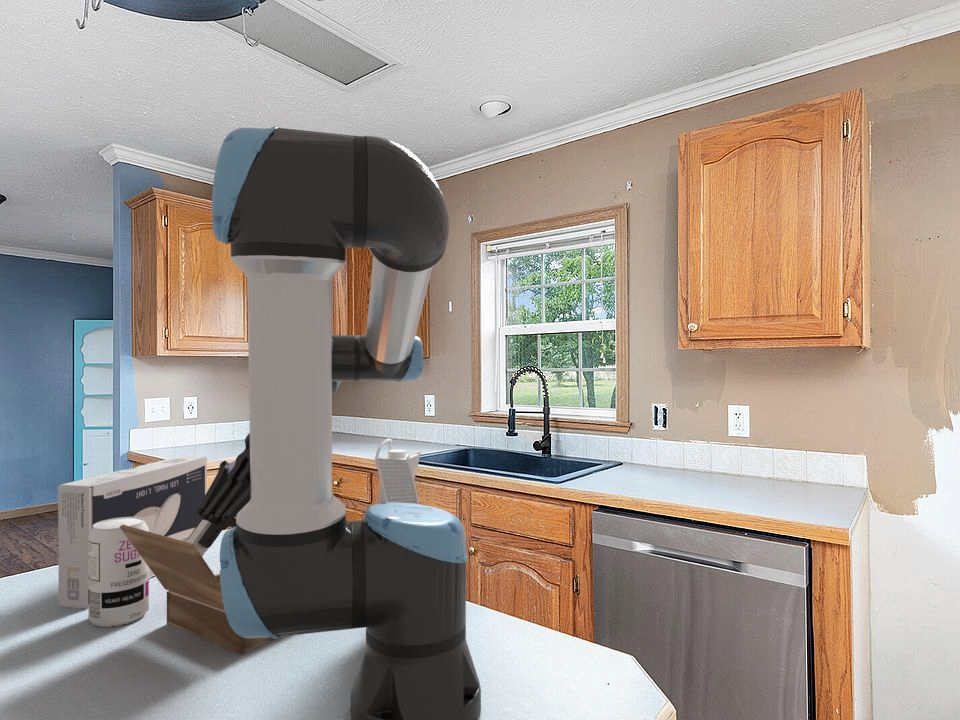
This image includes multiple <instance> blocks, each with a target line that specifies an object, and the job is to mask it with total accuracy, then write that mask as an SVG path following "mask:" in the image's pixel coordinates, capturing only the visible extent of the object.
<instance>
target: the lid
mask: <svg viewBox="0 0 960 720" xmlns="http://www.w3.org/2000/svg"><path fill="white" fill-rule="evenodd" d="M120 529H121V530H122V531H123V533H124V534H125V535H126V537H127V538H128V539H129V541H130V542H131V543H132V545H133V546H134V548H135V549H136V550H137V552H138V553H139V554H140V556H141V557H142V558H143V560H144V561H145V563H146V564H147V565H148V567H149V568H150V569H151V571H152V572H153V573H154V575H155V577H156V579H157V581H158V582H159V583H160V584H161V586H162V587H163V588H164V590H165V591H171V592H174V593H177V594H180V595H182V596H185V597H188V598H191V599H194V600H196V601H199V602H202V603H205V604H208V605H210V606H213V607H216V608H219V609H222V610H224V611H225V609H224V605H223V600H222V593H221V585H220V583H219V581H218V580H217V578H216V577H215V575H216V574H215V573H214V572H213V571H212V569H211V568H210V567H209V565H208V563H207V562H206V561H205V559H204V557H203V556H201V554H200V553H199V551H198V550H197V548H196V547H195V545H194V544H191V543H188V542H184V541H180V540H177V539H173V538H170V537H166V536H162V535H159V534H155V533H151V532H148V531H144V530H141V529H137V528H133V527H130V526H126V525H121V526H120Z"/></svg>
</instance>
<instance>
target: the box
mask: <svg viewBox="0 0 960 720" xmlns="http://www.w3.org/2000/svg"><path fill="white" fill-rule="evenodd" d="M214 575H215V577H216V578H217V580H218V581H219V583H220V573H218V574H214ZM166 624H167V625H168V624H169V625H168V626H170V625H171V626H170V627H173V628H175V627H176V628H175V629H178V628H179V629H178V630H180V629H181V630H180V631H182V630H183V632H185V633H187V632H188V634H190V635H192V636H196V637H197V638H200V639H202V640H204V641H208V642H210V643H211V644H214V645H217V646H219V647H222V648H225V649H226V650H228V651H229V650H230V651H231V652H234V653H237V654H239V655H243V654H246V653H248V652H250V651H252V650H254V649H256V648H258V647H260V646H263V645H265V644H266V643H269V642H270V641H273V640H274V639H273V638H271V637H265V638H243V637H240V636H239V635H237V634H236V633H235V632H234V631H233V629H232V628H231V626H230V625H229V622H228V620H227V617H226V613H225V611H224V610H222V609H219V608H216V607H213V606H210V605H208V604H205V603H202V602H199V601H196V600H194V599H191V598H188V597H185V596H182V595H180V594H177V593H174V592H171V591H168V590H166Z"/></svg>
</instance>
